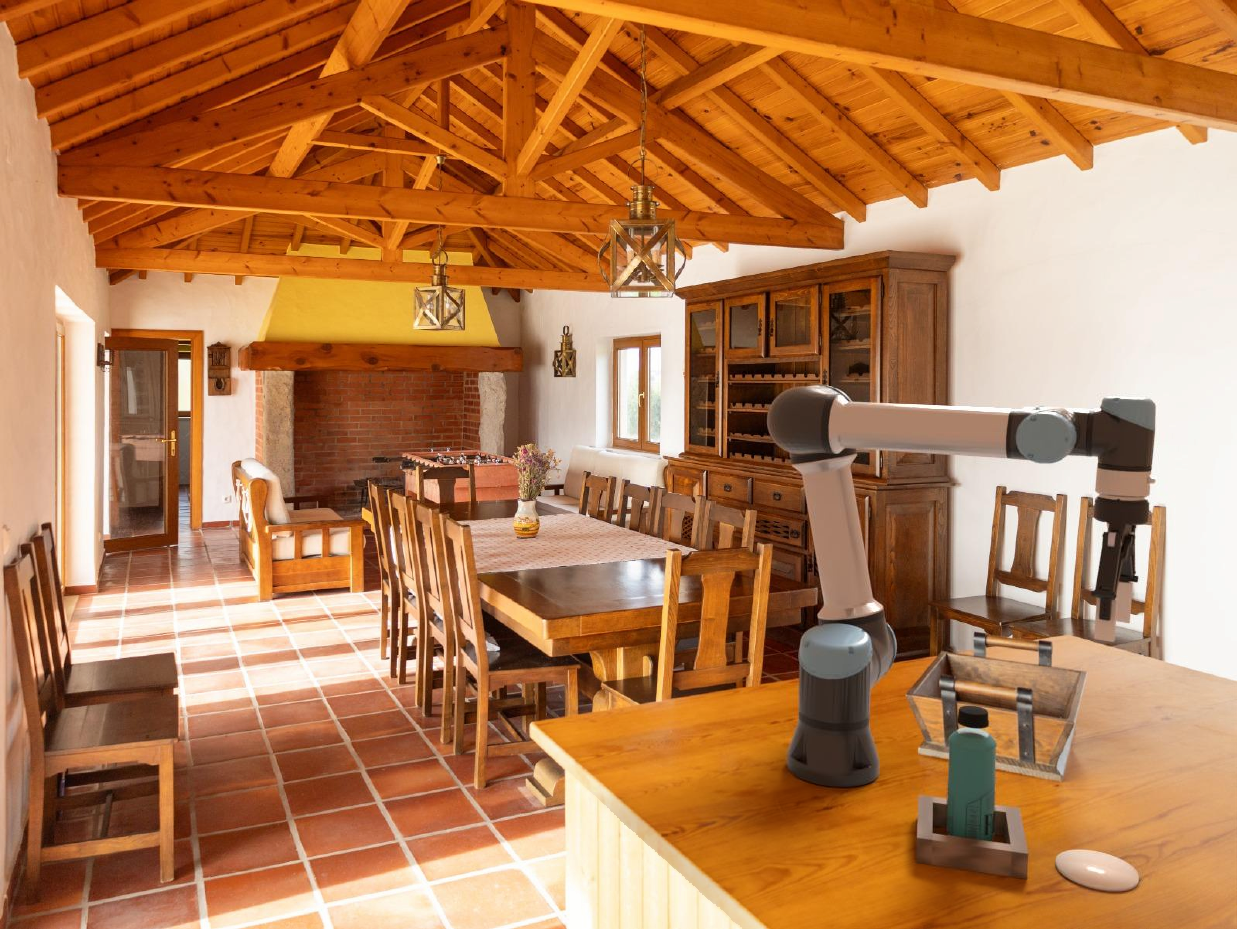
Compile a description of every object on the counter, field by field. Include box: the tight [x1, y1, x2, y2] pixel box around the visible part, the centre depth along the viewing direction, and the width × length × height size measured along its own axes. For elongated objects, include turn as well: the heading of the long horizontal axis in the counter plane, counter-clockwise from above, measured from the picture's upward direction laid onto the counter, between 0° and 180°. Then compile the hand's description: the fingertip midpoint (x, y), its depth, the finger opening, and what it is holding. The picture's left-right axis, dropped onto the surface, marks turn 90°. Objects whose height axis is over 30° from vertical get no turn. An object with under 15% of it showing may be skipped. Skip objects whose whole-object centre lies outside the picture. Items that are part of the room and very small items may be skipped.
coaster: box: [1055, 849, 1140, 893], centre depth 130 cm, size 10×10×1 cm
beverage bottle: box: [946, 705, 998, 842], centre depth 136 cm, size 6×7×20 cm
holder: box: [915, 794, 1029, 880], centre depth 136 cm, size 14×14×4 cm
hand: (1112, 630), depth 153 cm, fingers open, 13 cm apart
